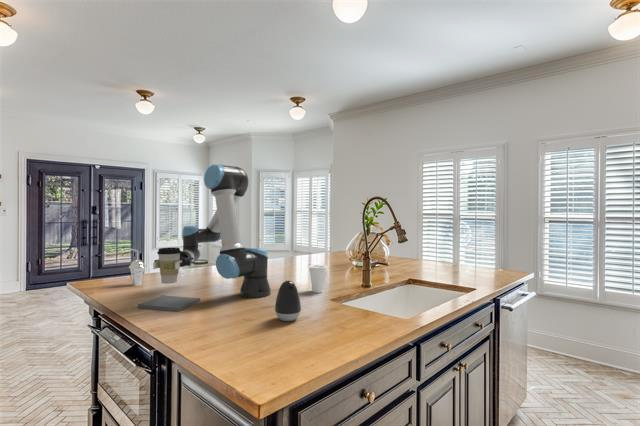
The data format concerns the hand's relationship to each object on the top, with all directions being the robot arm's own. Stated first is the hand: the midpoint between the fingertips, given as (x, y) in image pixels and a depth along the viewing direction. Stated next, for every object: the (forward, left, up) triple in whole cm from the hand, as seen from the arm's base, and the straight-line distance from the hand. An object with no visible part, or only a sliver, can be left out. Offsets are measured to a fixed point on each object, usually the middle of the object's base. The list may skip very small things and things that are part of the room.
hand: (165, 265), depth 151 cm
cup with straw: (+42, -33, -18) cm, 57 cm away
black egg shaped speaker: (-57, +2, -18) cm, 60 cm away
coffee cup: (+1, -4, -8) cm, 9 cm away
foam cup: (-58, -45, -18) cm, 75 cm away
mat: (0, -4, -18) cm, 18 cm away
